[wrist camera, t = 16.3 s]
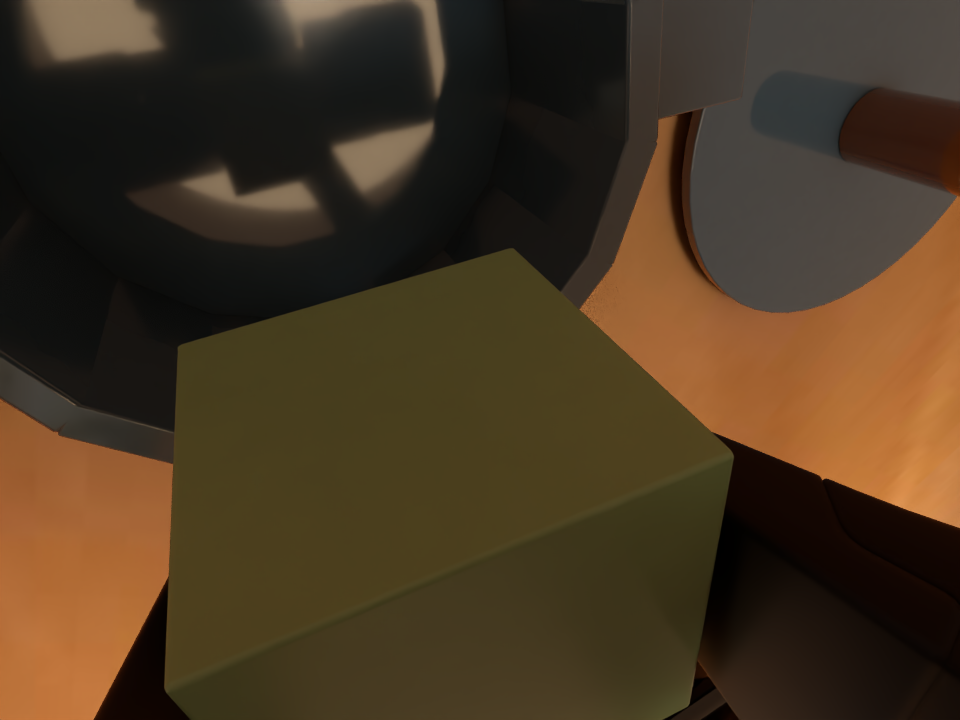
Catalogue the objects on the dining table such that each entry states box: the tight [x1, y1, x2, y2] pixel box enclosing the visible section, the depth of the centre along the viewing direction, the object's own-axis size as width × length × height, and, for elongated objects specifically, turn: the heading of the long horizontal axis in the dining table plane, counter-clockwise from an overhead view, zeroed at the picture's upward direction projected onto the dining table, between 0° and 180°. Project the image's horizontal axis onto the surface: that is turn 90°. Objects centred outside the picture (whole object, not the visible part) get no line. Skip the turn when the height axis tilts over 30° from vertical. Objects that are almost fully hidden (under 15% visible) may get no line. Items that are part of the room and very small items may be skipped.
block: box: [164, 248, 734, 720], centre depth 7 cm, size 4×4×4 cm
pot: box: [0, 0, 754, 464], centre depth 13 cm, size 14×19×6 cm
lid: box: [682, 0, 960, 313], centre depth 20 cm, size 15×15×6 cm
